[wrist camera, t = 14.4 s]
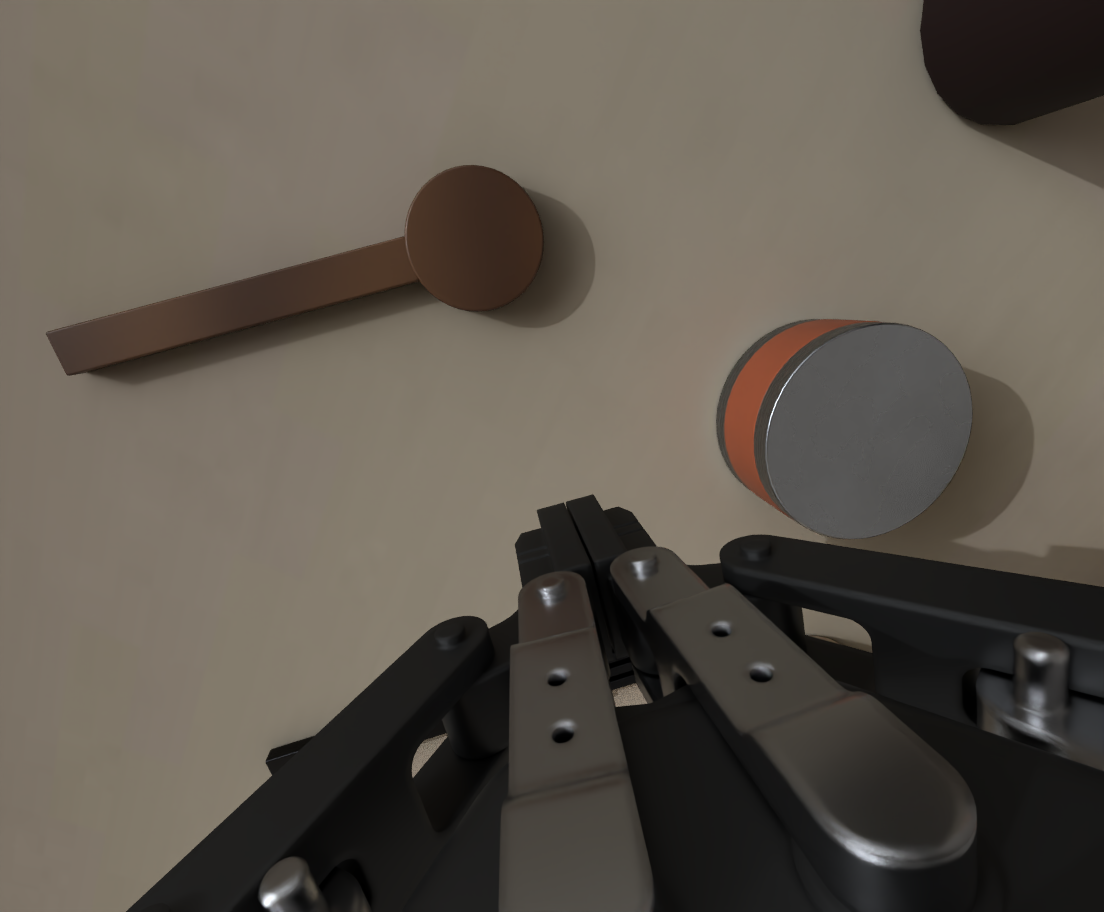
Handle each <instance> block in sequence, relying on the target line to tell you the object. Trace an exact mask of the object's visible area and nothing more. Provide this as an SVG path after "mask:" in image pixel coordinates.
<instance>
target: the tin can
mask: <svg viewBox="0 0 1104 912" xmlns="http://www.w3.org/2000/svg"><path fill="white" fill-rule="evenodd" d="M972 415H973V414H972V398H971V392H970V387H969V384H968V381H967V378H966V375H965V373H964V371H963V369H962V367H961V365H960V363H959V362H958V360H957V359H956V357H955V356H954V354H953V353H952V352H951V351H950V350H949V349H948V348H947V347H946V346H945V345H944V344H943V343H942V342H941V341H939V340H938V339H937V338H935V337H934V336H933V335H931V334H929V333H927V332H925V331H923V330H921V329H918V328H915V327H912V326H909V325H905V324H899V323H887V322H879V321H858V320H837V319H810V320H802V321H797V322H793V323H790V324H787V325H784V326H782V327H779V328H777V329H775V330H773V331H772V332H770V333H768V334H766V335H765V336H763V337H762V338H761V339H759V340H758V341H757V342H755V343H754V344H753V345H752V346H751V347H750V348H749V349H748V350H747V351H746V352H745V353H744V354H743V355H742V357H741V358H740V359H739V360H738V362H737V363H736V364H735V366H734V368H733V369H732V371H731V372H730V374H729V376H728V378H727V380H726V382H725V384H724V387H723V390H722V393H721V395H720V399H719V404H718V408H717V419H716V425H717V437H718V443H719V447H720V450H721V453H722V456H723V458H724V460H725V462H726V464H727V466H728V468H729V469H730V471H731V472H732V474H733V475H734V476H735V477H736V478H737V479H738V480H739V482H740V483H742V484H743V485H744V486H745V487H747V488H748V489H749V490H751V491H752V492H753V493H755V494H756V495H757V496H758V497H760V498H761V499H763V500H764V501H766V502H767V503H769V504H770V505H772V506H773V507H774V508H776V509H777V510H779V511H780V512H782V513H783V514H785V515H786V516H788V517H789V518H791V519H793V520H794V521H796V522H797V523H799V524H800V525H802V526H804V527H805V528H807V529H809V530H810V531H813V532H815V533H818V534H820V535H823V536H828V537H832V538H839V539H863V538H869V537H874V536H878V535H881V534H884V533H887V532H890V531H892V530H894V529H897V528H899V527H901V526H903V525H904V524H906V523H908V522H910V521H911V520H913V519H914V518H915V517H917V516H918V515H920V514H921V513H922V512H924V511H925V510H926V509H927V508H928V507H929V506H930V505H931V504H933V502H934V501H935V500H936V499H937V498H938V497H939V496H940V495H941V494H942V493H943V491H944V490H945V488H946V487H947V486H948V484H949V483H950V482H951V480H952V478H953V477H954V475H955V473H956V472H957V470H958V468H959V466H960V464H961V461H962V459H963V457H964V454H965V451H966V448H967V445H968V442H969V437H970V433H971V427H972Z"/></svg>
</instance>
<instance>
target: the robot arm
mask: <svg viewBox="0 0 1104 912" xmlns="http://www.w3.org/2000/svg"><path fill="white" fill-rule="evenodd" d="M566 506H567V508H566ZM566 506H565V504H564V503H560V504H557V505H553V506H549V507H546V508H542V509H538V510H537V514H538V518H539V521H540V525H541V528H539V529H536V530H532V531H529V532H525V533H521V535H520V537H519V538H518V540H517V542H516V543H515V548H516V554H517V559H518V564H519V571H520V576H521V582H522V589H521V591H520V592H519V595H518V610H517V611H516V612H515V613H514V614H513V615H512V616H510V617H509V618H508V619H506V620H504V621H503V622H501V623H499V624H497V625H495V626H493V627H491V628H489V629H488V627H487V624H486V622H485V621H484V620H482V619H481V618H478V617H474V616H462V617H456V618H452V619H449V620H446V621H444V622H442V623H440V624H438V625H436V626H434V627H433V628H431V629H430V630H429V631H427V632H426V633H425V634H424V635H423V636H422V637H421V638H420V639H418V640H417V641H416V642H415V643H414V644H413V645H412V646H411V647H410V648H409V649H408V650H407V651H406V652H405V653H403V654H402V655H401V656H400V657H399V658H398V659H397V660H396V661H395V662H394V663H393V664H392V665H391V666H389V667H388V668H387V669H386V670H385V671H384V672H383V673H382V674H381V675H380V676H379V677H378V678H377V679H376V680H374V681H373V682H372V683H371V684H370V685H369V686H368V687H367V688H366V689H365V690H364V691H363V692H362V693H360V694H359V695H358V696H357V697H356V698H355V699H354V700H353V701H352V702H351V703H350V704H349V705H348V706H346V707H345V708H344V709H343V710H342V711H341V712H340V713H339V714H338V715H337V716H336V717H335V718H334V719H333V720H331V721H330V722H329V723H328V724H327V725H326V726H325V727H324V728H323V729H322V730H321V731H320V732H319V733H317V734H316V735H315V736H314V737H313V738H312V739H311V740H310V741H309V742H308V743H307V744H306V745H305V746H304V747H302V748H301V749H300V750H299V751H298V752H297V753H296V754H295V755H294V756H293V757H292V758H291V759H290V760H288V761H287V762H286V763H285V764H284V765H283V766H282V767H281V768H280V769H279V770H278V771H277V772H276V773H274V774H273V775H272V776H271V777H270V778H269V779H268V780H267V781H266V782H265V783H264V784H263V785H262V786H261V787H259V788H258V789H257V790H256V791H255V792H254V793H253V794H252V795H251V796H250V797H249V798H248V799H247V800H245V801H244V802H243V803H242V804H241V805H240V806H239V807H238V808H237V809H236V810H235V811H234V812H233V813H232V814H230V815H229V816H228V817H227V818H226V819H225V820H224V821H223V822H222V823H221V824H220V825H219V826H218V827H216V828H215V829H214V830H213V831H212V832H211V833H210V834H209V835H208V836H207V837H206V838H205V839H204V840H202V841H201V842H200V843H199V844H198V845H197V846H196V847H195V848H194V849H193V850H192V851H191V852H190V853H189V854H187V855H186V856H185V857H184V858H183V859H182V860H181V861H180V862H179V863H178V864H177V865H176V866H175V867H173V868H172V869H171V870H170V871H169V872H168V873H167V874H166V875H165V876H164V877H163V878H162V879H161V880H159V881H158V882H157V883H156V884H155V885H154V886H153V887H152V888H151V889H150V890H149V891H148V892H147V893H146V894H144V895H143V896H142V897H141V898H140V899H139V900H138V901H137V902H136V903H135V904H134V905H133V906H132V907H130V908H129V909H128V910H127V911H126V912H1104V587H1100V586H1093V585H1087V584H1080V583H1074V582H1067V581H1061V580H1055V579H1048V578H1042V577H1035V576H1029V575H1023V574H1016V573H1010V572H1003V571H997V570H990V569H984V568H978V567H971V566H965V565H958V564H952V563H946V562H939V561H933V560H926V559H920V558H913V557H907V556H901V555H894V554H888V553H881V552H875V551H869V550H862V549H856V548H849V547H843V546H836V545H830V544H824V543H817V542H811V541H804V540H798V539H792V538H785V537H779V536H772V535H749V536H744V537H740V538H737V539H734V540H732V541H730V542H728V543H727V544H726V545H724V546H723V547H722V549H721V551H720V561H721V563H718V564H707V565H686V564H685V563H684V562H683V561H682V560H681V559H680V558H679V557H678V556H677V555H676V554H675V553H674V552H673V551H671V550H669V549H666V548H663V547H657V546H656V545H655V543H654V542H653V541H652V539H651V538H650V536H649V535H648V534H647V532H646V531H645V530H644V529H643V527H642V525H641V524H640V523H639V522H638V520H637V519H636V517H635V516H634V515H633V513H632V512H630V511H628V510H625V509H623V508H620V507H615V508H611V509H608V510H604V511H603V510H602V508H601V506H600V505H599V503H598V501H597V500H596V498H595V496H594V495H589V496H586V497H582V498H578V499H575V500H571V501H567V502H566ZM802 608H806V609H810V610H815V611H819V612H823V613H827V614H831V615H835V616H840V617H844V618H848V619H851V620H853V621H855V622H857V623H858V624H860V625H861V626H862V627H863V628H864V629H865V630H866V631H867V632H868V634H869V636H870V638H871V642H872V653H870V652H867V651H863V650H859V649H856V648H852V647H848V646H844V645H841V644H837V643H833V642H830V641H826V640H822V639H819V638H815V637H811V636H808V635H805V630H804V622H803V614H802ZM609 640H610V641H609ZM610 642H611V645H612V647H613V650H614V652H615V655H616V657H617V659H619V658H622V657H626V656H629V657H630V659H631V663H632V667H633V672H634V676H635V680H636V683H637V685H638V687H639V689H640V691H641V693H642V694H643V696H644V698H645V700H646V702H647V703H648V704H641V705H631V706H621V707H616V706H615V701H614V697H613V693H612V689H611V685H610V681H609V678H610V668H609V664H608V662H609V661H613V660H614V657H613V653H612V649H611V645H610ZM441 720H442V721H443V724H444V727H445V730H446V732H447V735H448V737H447V738H446V739H445V740H444V742H443V743H442V744H441V745H440V746H439V748H438V749H437V750H436V751H435V752H434V754H433V755H432V756H431V757H430V758H429V760H428V761H427V762H426V763H425V764H424V766H423V767H422V768H421V769H420V770H419V772H418V773H417V774H416V775H415V776H414V778H413V777H412V762H413V758H414V755H415V753H416V751H417V749H418V747H419V746H420V744H421V743H422V742H423V741H424V740H425V738H426V737H427V736H428V735H429V734H430V733H431V731H432V730H433V729H434V728H435V727H436V726H437V725H438V723H439V722H440V721H441Z"/></svg>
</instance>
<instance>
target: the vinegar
mask: <svg viewBox="0 0 1104 912" xmlns="http://www.w3.org/2000/svg"><path fill="white" fill-rule="evenodd" d="M920 33H921V40H922V48H923V55H924V63H925V67H926V69H927V71H928V73H929V75H930V78H931V80H932V82H933V84H934V87H935V89H936V91H937V93H938V94H939V95H940V96H941V98H942V99H943V100H944V101H945V102H946V103H947V104H948V105H949V106H950V107H951V108H952V109H953V110H954V111H955V112H956V113H957V114H959V115H961V116H963V117H966V118H968V119H970V120H972V121H975V122H977V123H979V124H990V125H1015V124H1018V123H1021V122H1024V121H1027V120H1030V119H1033V118H1036V117H1039V116H1042V115H1045V114H1048V113H1051V112H1054V111H1057V110H1060V109H1063V108H1066V107H1069V106H1072V105H1076V104H1079V103H1082V102H1085V101H1088V100H1091V99H1094V98H1097V97H1100V96H1103V95H1104V0H924V4H923V12H922V21H921V29H920Z"/></svg>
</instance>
